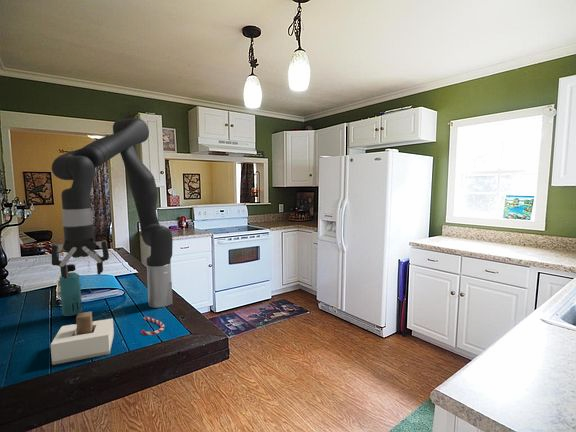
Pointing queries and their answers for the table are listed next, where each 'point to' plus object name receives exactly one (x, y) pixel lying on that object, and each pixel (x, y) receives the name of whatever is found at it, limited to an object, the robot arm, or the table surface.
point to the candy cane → (153, 322)
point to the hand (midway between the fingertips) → (83, 276)
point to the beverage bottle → (70, 293)
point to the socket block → (82, 342)
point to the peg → (84, 323)
